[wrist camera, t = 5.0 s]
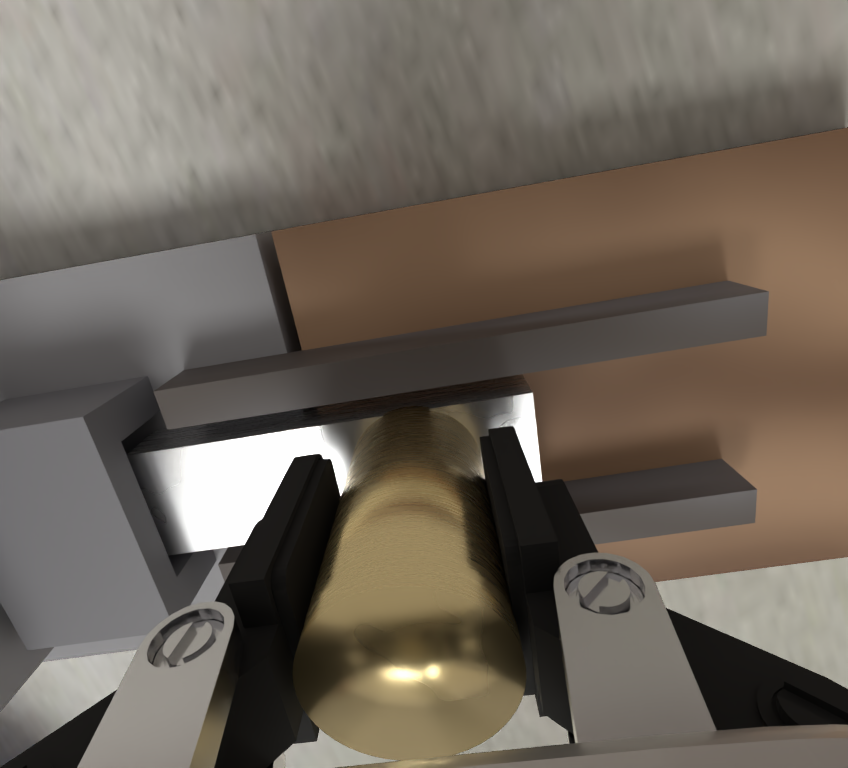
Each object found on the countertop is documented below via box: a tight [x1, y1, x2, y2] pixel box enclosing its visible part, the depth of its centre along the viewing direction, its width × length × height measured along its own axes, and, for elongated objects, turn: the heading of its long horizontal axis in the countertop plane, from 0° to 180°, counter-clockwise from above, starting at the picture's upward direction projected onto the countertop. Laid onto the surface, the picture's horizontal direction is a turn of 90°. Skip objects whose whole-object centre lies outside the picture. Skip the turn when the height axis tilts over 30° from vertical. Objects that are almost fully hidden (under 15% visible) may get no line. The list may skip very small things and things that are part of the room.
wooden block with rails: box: [153, 127, 848, 582], centre depth 14 cm, size 12×18×4 cm, turn 100°
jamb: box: [0, 230, 302, 712], centre depth 13 cm, size 12×15×8 cm
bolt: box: [127, 374, 542, 761], centre depth 11 cm, size 3×10×7 cm, turn 100°
